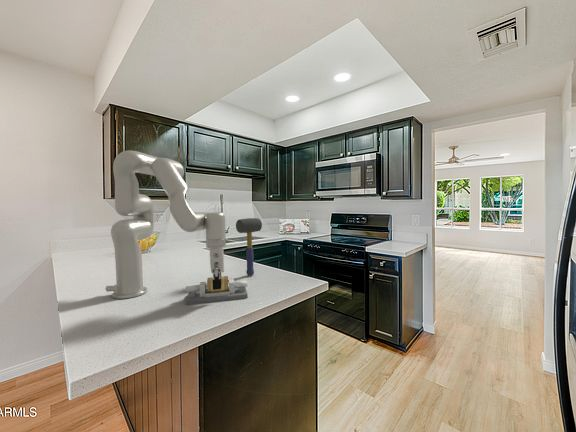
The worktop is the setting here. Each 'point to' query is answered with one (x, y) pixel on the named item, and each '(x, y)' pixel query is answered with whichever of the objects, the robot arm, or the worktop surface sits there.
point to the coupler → (223, 285)
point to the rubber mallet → (249, 238)
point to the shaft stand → (201, 296)
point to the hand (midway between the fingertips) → (217, 285)
